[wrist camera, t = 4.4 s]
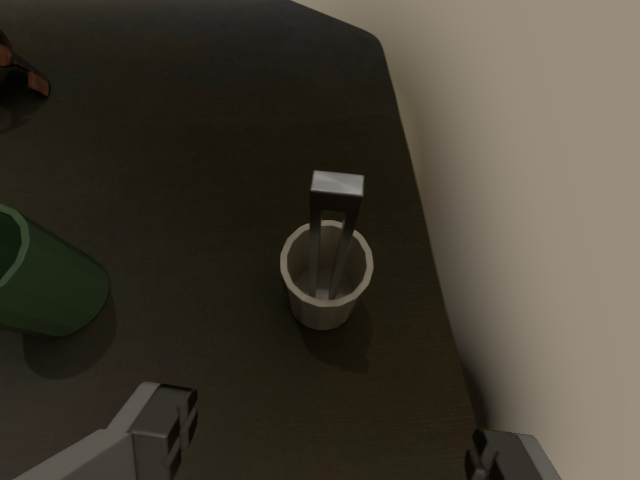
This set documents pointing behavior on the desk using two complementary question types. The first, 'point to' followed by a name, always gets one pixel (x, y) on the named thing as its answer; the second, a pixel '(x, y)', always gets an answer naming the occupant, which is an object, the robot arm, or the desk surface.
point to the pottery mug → (22, 66)
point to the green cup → (45, 280)
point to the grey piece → (334, 196)
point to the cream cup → (324, 276)
